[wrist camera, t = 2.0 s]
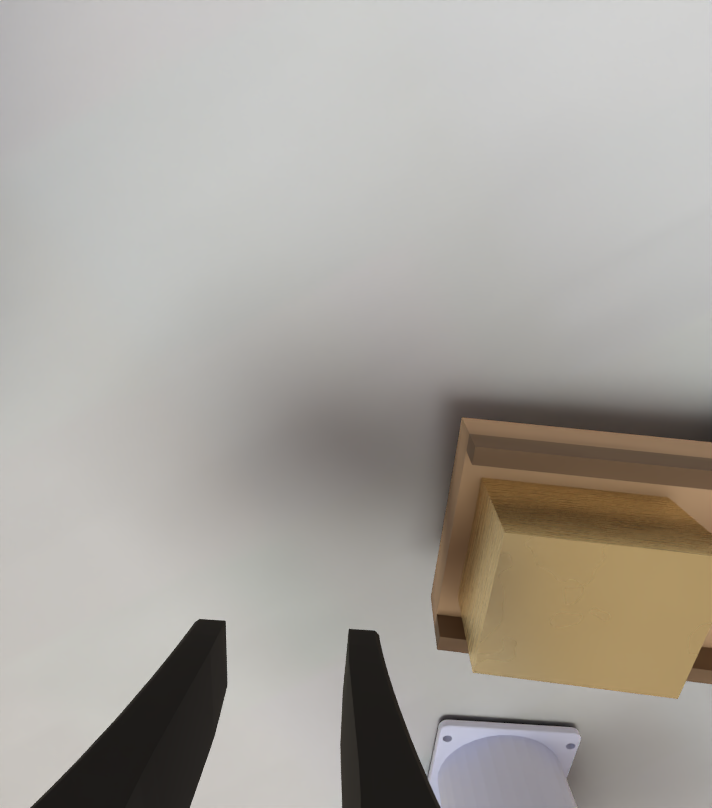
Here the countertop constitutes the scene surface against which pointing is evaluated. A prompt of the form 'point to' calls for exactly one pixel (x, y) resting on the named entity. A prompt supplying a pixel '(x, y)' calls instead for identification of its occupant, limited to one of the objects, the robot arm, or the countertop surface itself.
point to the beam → (563, 466)
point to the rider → (585, 587)
